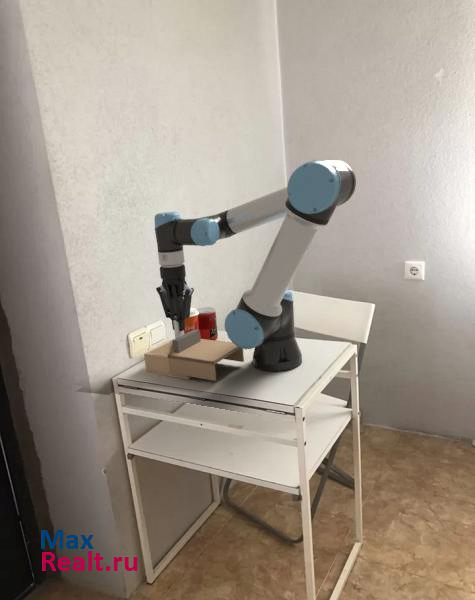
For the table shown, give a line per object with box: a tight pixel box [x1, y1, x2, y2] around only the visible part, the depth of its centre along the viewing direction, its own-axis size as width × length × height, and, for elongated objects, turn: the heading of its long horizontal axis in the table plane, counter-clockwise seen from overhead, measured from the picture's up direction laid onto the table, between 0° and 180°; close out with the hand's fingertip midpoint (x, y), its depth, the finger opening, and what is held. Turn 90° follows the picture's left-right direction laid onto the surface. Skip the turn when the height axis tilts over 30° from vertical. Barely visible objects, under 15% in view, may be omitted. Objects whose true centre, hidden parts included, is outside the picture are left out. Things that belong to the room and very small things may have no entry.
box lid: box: [168, 329, 245, 382], centre depth 154 cm, size 16×16×10 cm
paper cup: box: [184, 307, 199, 334], centre depth 174 cm, size 8×8×14 cm
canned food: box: [196, 306, 219, 341], centre depth 185 cm, size 8×8×11 cm
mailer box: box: [143, 339, 191, 380], centre depth 160 cm, size 16×14×6 cm
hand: (180, 340), depth 158 cm, fingers closed
